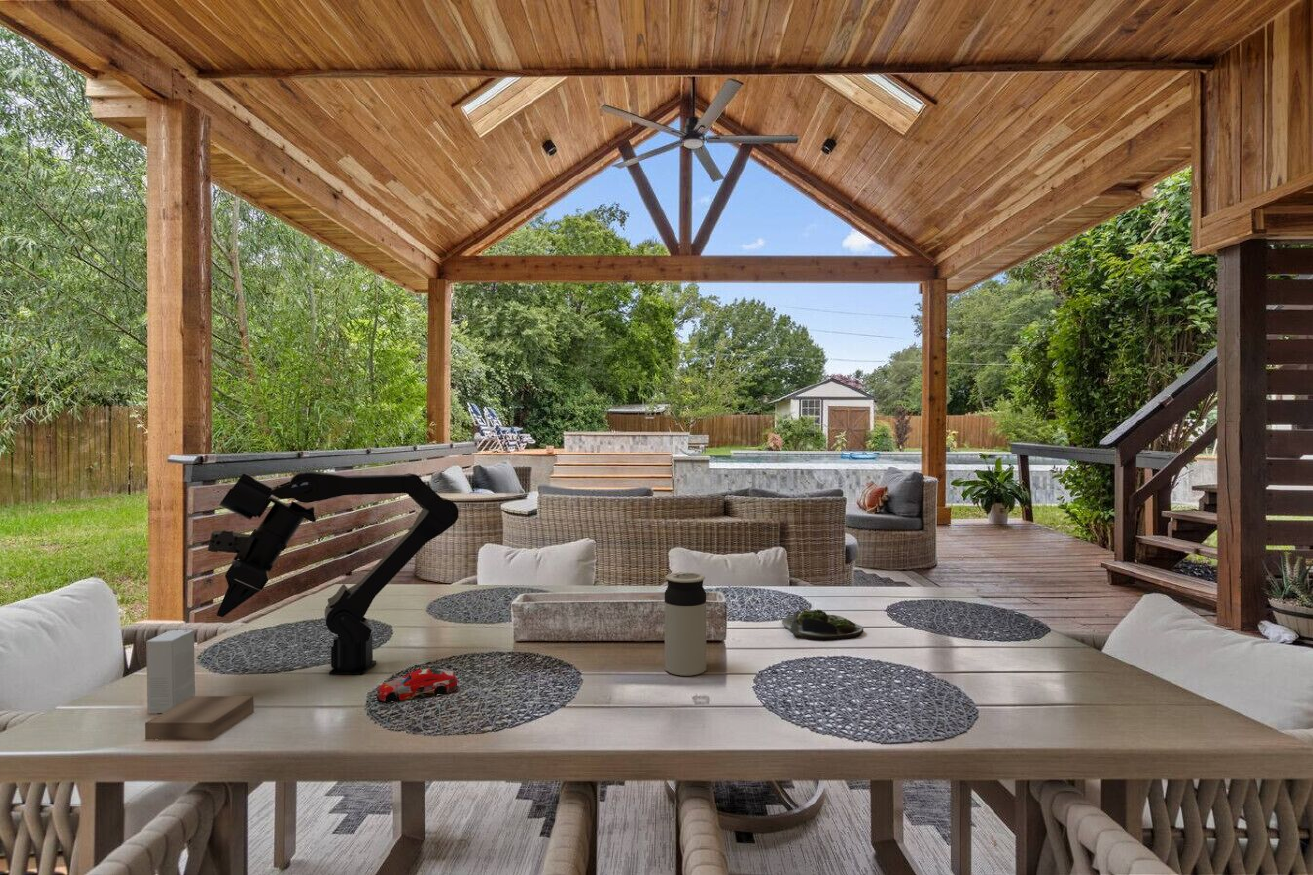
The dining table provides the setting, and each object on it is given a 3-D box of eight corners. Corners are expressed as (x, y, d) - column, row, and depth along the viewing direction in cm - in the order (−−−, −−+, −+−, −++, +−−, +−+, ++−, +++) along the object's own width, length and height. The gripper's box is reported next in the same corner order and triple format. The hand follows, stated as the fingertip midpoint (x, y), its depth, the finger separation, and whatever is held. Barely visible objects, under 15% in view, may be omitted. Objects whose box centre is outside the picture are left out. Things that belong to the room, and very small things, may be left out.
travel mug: (714, 669, 129) (714, 575, 129) (687, 680, 123) (687, 582, 123) (683, 659, 134) (683, 569, 134) (656, 670, 128) (655, 576, 128)
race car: (376, 707, 112) (376, 683, 112) (377, 695, 117) (377, 672, 117) (458, 695, 117) (458, 672, 117) (456, 684, 122) (455, 662, 122)
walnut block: (253, 714, 109) (253, 696, 109) (212, 742, 99) (211, 722, 99) (192, 714, 109) (192, 696, 109) (145, 742, 99) (145, 722, 99)
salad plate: (764, 620, 163) (764, 601, 163) (832, 616, 167) (832, 598, 167) (798, 645, 144) (798, 623, 144) (873, 639, 148) (873, 618, 148)
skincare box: (169, 700, 114) (169, 629, 114) (195, 699, 115) (195, 629, 115) (145, 714, 108) (145, 640, 108) (173, 713, 108) (173, 639, 108)
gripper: (235, 506, 128) (183, 579, 124) (225, 516, 111) (165, 602, 108) (292, 533, 132) (243, 605, 128) (290, 547, 116) (234, 630, 112)
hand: (222, 609), depth 119 cm, fingers open, 9 cm apart
